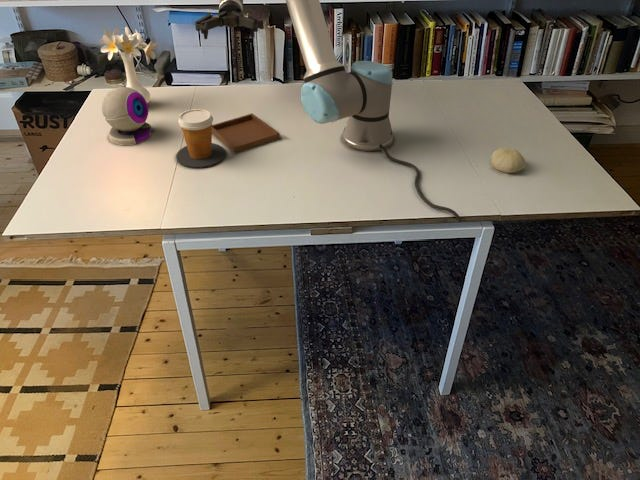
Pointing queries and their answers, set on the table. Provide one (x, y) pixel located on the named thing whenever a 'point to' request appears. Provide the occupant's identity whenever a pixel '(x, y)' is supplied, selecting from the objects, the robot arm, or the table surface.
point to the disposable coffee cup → (197, 132)
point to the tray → (244, 133)
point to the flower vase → (128, 54)
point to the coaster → (212, 160)
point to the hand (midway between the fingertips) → (228, 33)
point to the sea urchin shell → (507, 160)
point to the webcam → (126, 116)
